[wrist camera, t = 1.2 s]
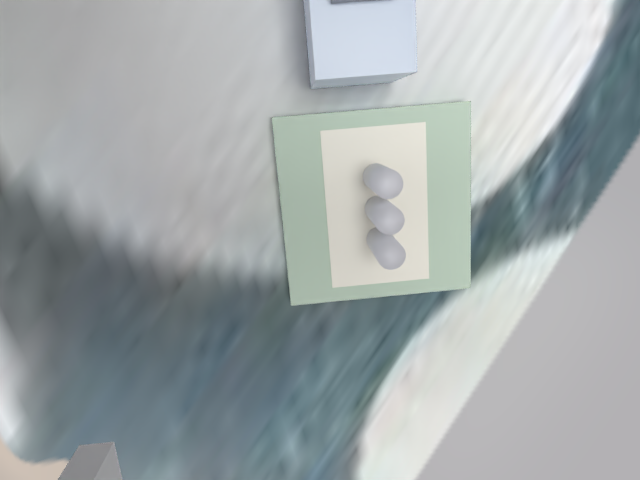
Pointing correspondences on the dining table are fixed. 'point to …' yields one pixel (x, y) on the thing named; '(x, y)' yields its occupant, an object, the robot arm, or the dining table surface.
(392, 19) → the plug
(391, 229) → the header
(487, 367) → the dining table surface
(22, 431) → the dining table surface
